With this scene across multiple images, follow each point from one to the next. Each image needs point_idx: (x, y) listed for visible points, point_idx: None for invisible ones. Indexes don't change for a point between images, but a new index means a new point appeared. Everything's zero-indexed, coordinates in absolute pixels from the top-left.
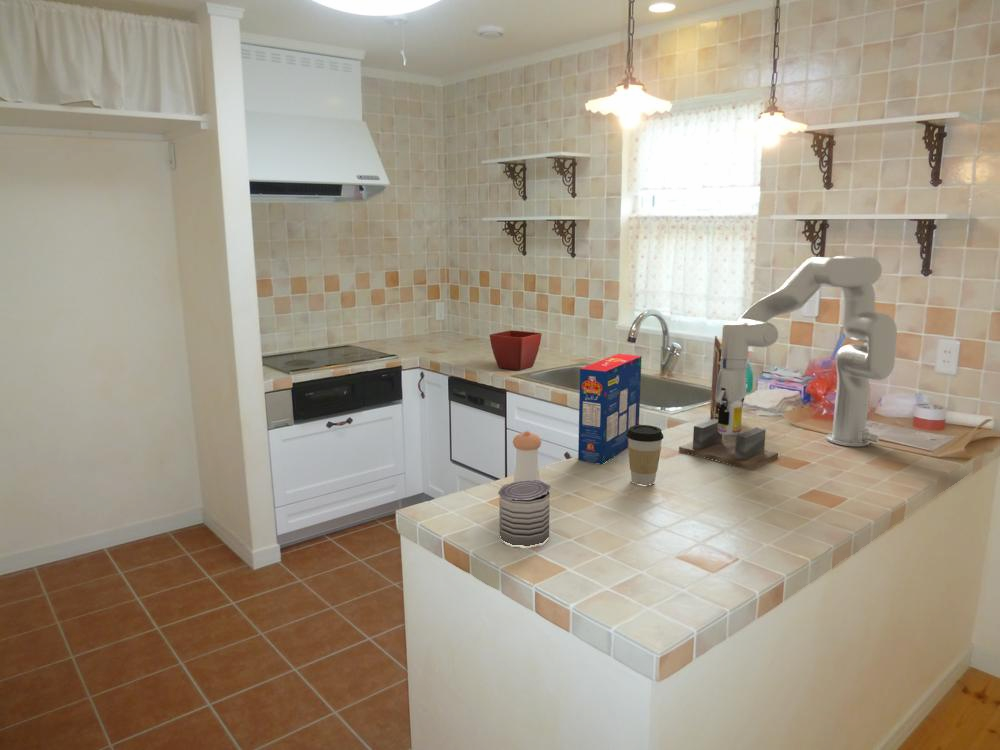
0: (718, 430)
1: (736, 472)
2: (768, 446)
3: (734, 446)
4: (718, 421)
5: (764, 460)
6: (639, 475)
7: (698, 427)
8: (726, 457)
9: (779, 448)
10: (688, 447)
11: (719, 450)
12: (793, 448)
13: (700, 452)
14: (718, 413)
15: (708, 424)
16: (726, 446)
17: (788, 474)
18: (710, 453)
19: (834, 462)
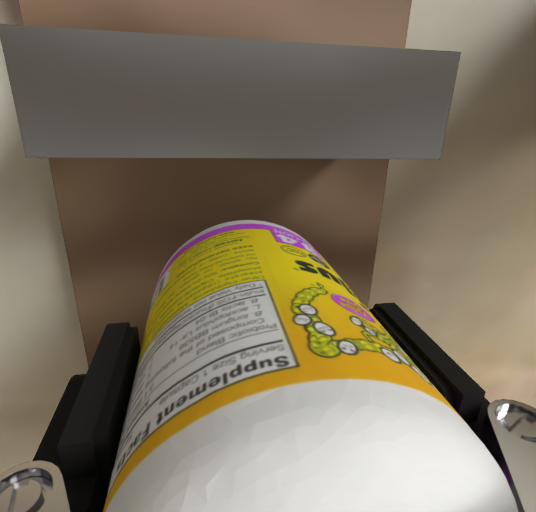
0: (167, 262)
1: (23, 401)
2: (474, 297)
3: (316, 241)
4: (103, 336)
5: None
6: None
7: (14, 100)
8: (102, 315)
9: (470, 338)
10: (65, 27)
11: (184, 224)
12: (497, 368)
13: (49, 159)
14: (194, 316)
15: (206, 129)
16: (285, 211)
17: None
18: (86, 218)
19: None
